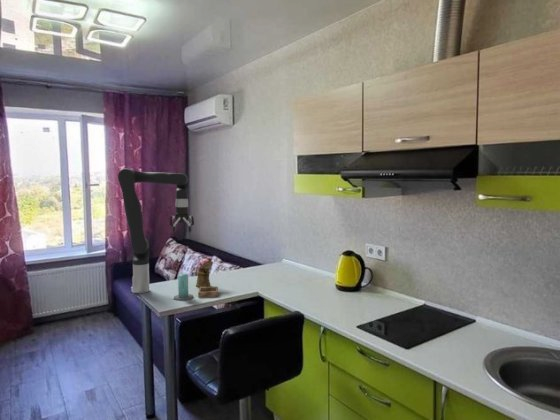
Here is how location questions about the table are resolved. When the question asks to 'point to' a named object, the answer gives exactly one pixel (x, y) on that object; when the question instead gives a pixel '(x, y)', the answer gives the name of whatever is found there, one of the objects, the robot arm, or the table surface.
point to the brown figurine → (204, 275)
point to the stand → (208, 292)
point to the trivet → (183, 298)
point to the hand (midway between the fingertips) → (182, 232)
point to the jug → (183, 285)
